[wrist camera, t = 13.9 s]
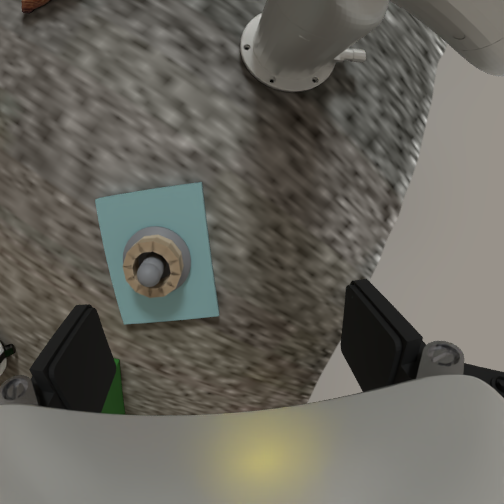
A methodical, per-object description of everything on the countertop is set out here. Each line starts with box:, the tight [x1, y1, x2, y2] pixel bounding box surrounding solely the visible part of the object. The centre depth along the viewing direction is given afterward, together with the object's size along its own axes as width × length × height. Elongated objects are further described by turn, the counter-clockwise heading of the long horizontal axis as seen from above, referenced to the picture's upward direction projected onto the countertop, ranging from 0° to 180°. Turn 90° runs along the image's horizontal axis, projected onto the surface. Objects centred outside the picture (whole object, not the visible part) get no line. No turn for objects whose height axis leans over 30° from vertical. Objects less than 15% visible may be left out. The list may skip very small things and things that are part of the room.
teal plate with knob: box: [95, 182, 219, 324], centre depth 36 cm, size 14×18×8 cm
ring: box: [123, 235, 184, 298], centre depth 36 cm, size 7×7×3 cm
